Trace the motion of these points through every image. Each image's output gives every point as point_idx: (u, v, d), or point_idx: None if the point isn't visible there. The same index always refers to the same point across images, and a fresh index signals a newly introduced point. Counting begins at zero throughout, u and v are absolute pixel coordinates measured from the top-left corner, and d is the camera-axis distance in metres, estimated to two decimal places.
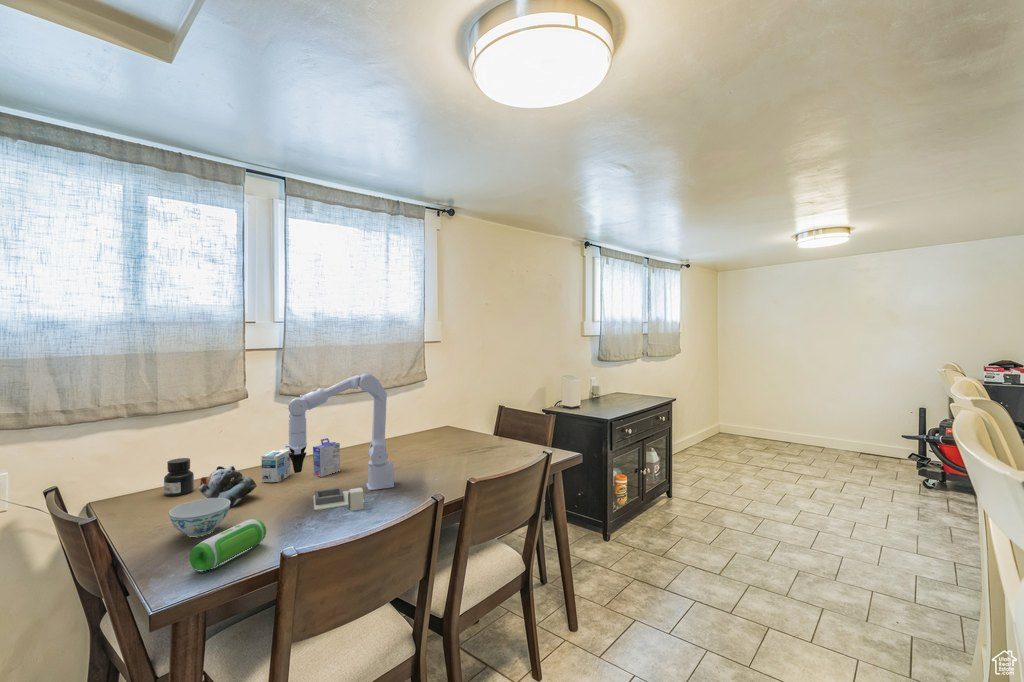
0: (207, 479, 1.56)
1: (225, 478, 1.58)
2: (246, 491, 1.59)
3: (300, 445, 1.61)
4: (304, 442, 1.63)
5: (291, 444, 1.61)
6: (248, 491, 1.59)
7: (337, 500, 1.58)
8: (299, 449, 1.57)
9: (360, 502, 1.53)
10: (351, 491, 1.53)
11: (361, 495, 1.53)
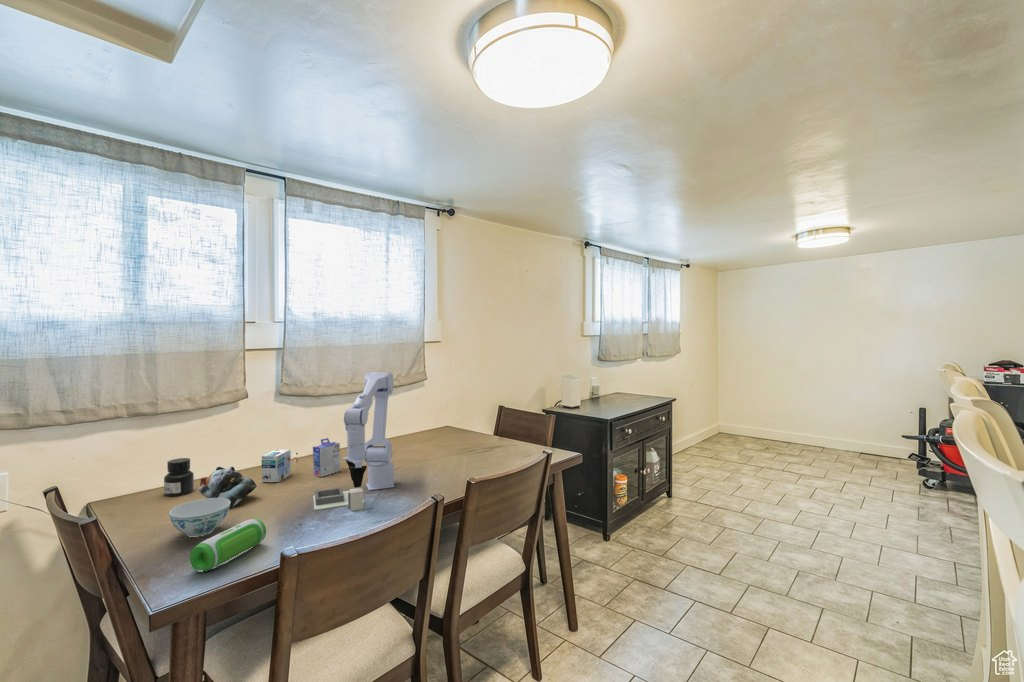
0: (207, 480, 1.55)
1: (225, 478, 1.57)
2: (247, 492, 1.58)
3: (359, 458, 1.52)
4: (363, 454, 1.53)
5: (351, 456, 1.51)
6: (248, 491, 1.59)
7: (337, 500, 1.58)
8: (360, 462, 1.48)
9: (360, 502, 1.53)
10: (351, 491, 1.53)
11: (361, 495, 1.53)
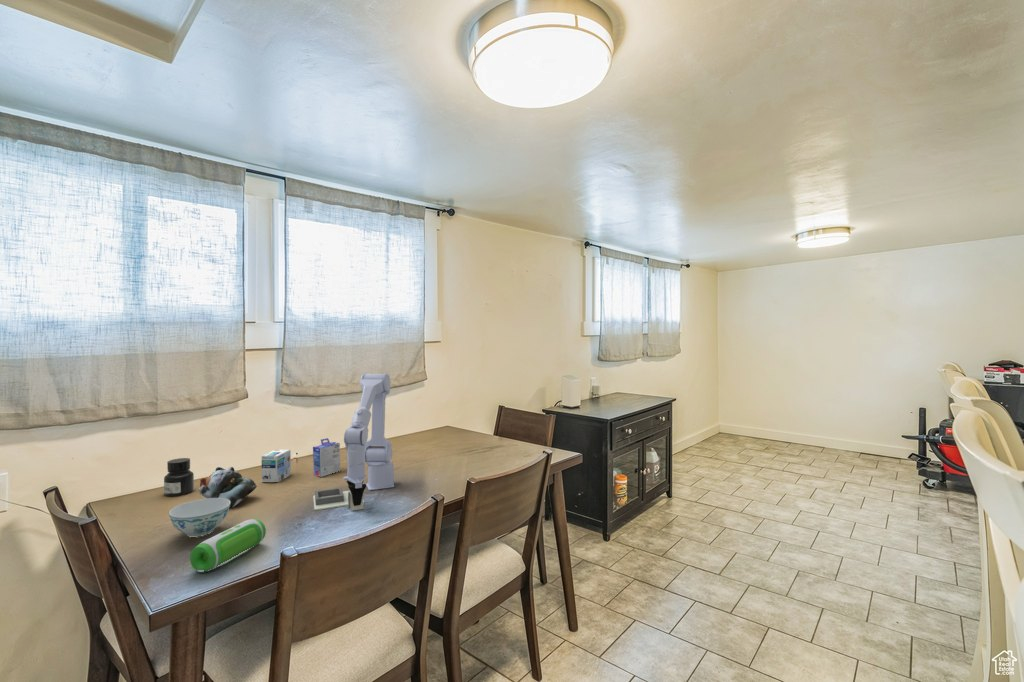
0: (207, 480, 1.55)
1: (225, 479, 1.57)
2: (247, 492, 1.58)
3: (360, 477, 1.52)
4: (363, 474, 1.53)
5: (351, 476, 1.51)
6: (248, 492, 1.59)
7: (337, 500, 1.58)
8: (360, 483, 1.48)
9: None
10: None
11: None
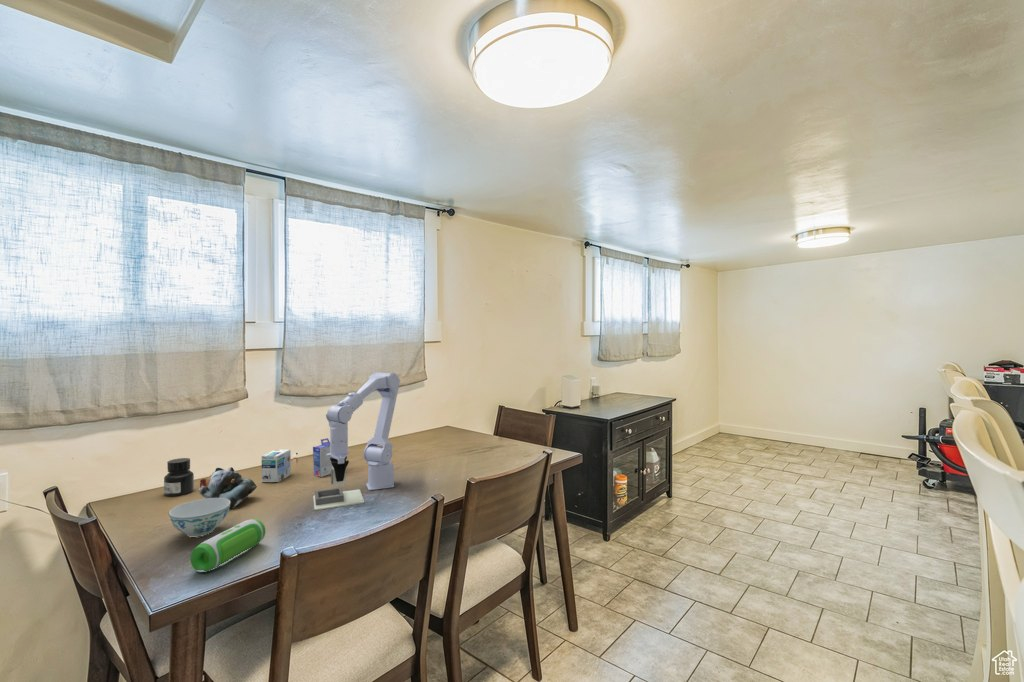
0: (207, 481, 1.54)
1: (225, 479, 1.56)
2: (247, 492, 1.58)
3: (342, 454, 1.56)
4: (346, 451, 1.57)
5: (334, 453, 1.55)
6: (248, 492, 1.58)
7: (337, 500, 1.58)
8: (343, 458, 1.52)
9: None
10: None
11: None
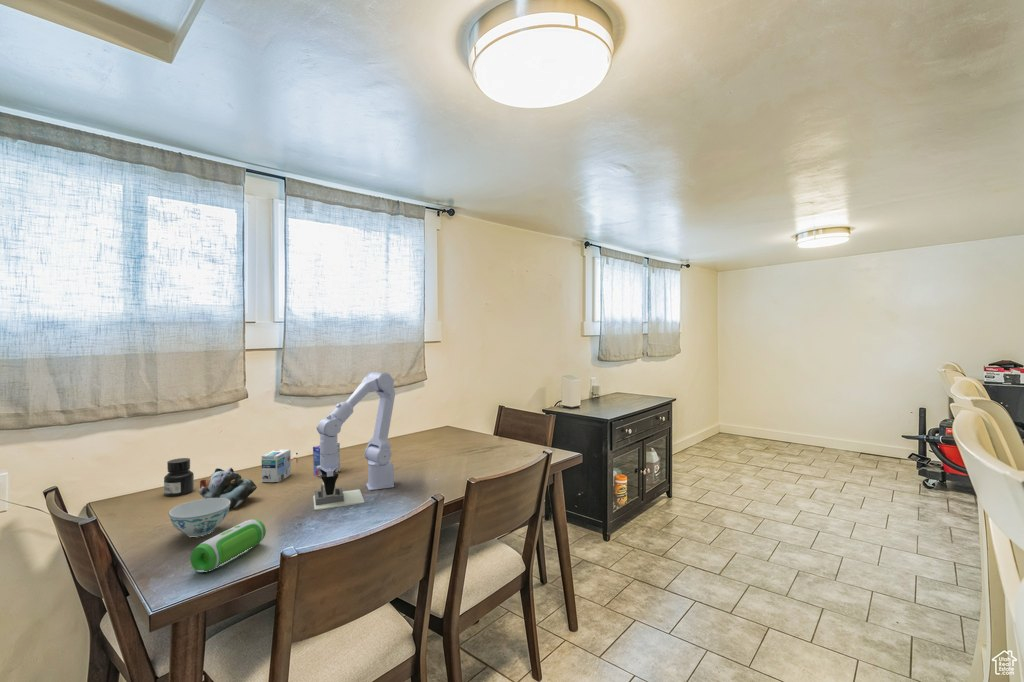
0: (207, 481, 1.53)
1: (225, 480, 1.55)
2: (247, 493, 1.57)
3: (332, 467, 1.58)
4: (335, 463, 1.60)
5: (323, 465, 1.58)
6: (249, 493, 1.58)
7: (337, 500, 1.58)
8: (332, 471, 1.54)
9: None
10: None
11: None
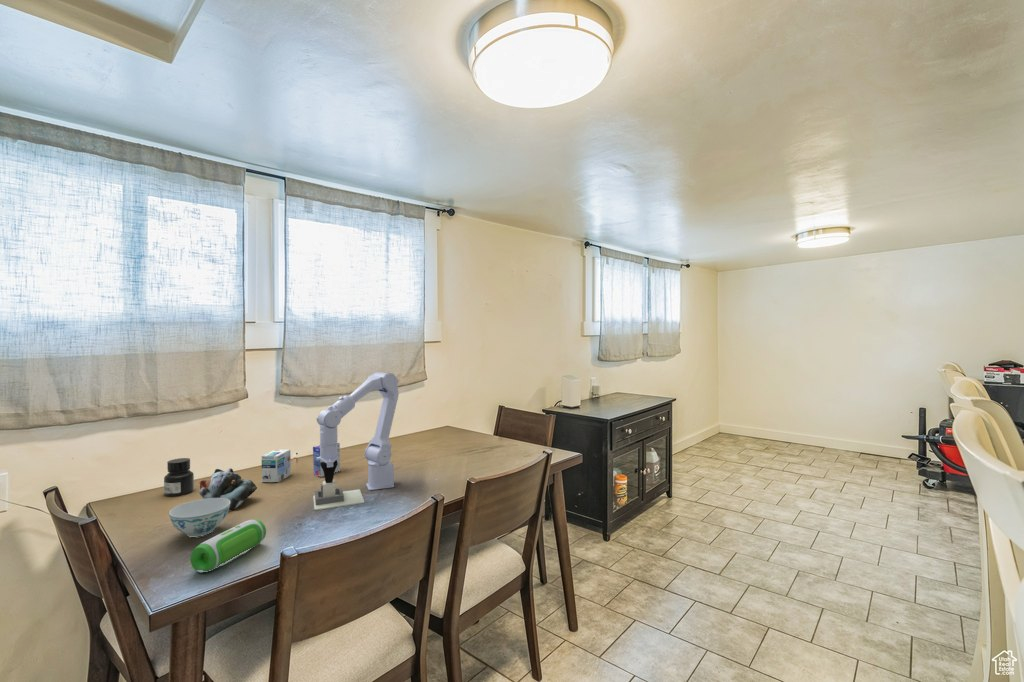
0: (207, 482, 1.53)
1: (225, 480, 1.55)
2: (248, 493, 1.57)
3: (332, 458, 1.58)
4: (335, 454, 1.60)
5: (323, 456, 1.58)
6: (249, 493, 1.57)
7: (337, 500, 1.58)
8: (331, 462, 1.54)
9: (332, 493, 1.59)
10: (324, 483, 1.59)
11: (333, 487, 1.59)
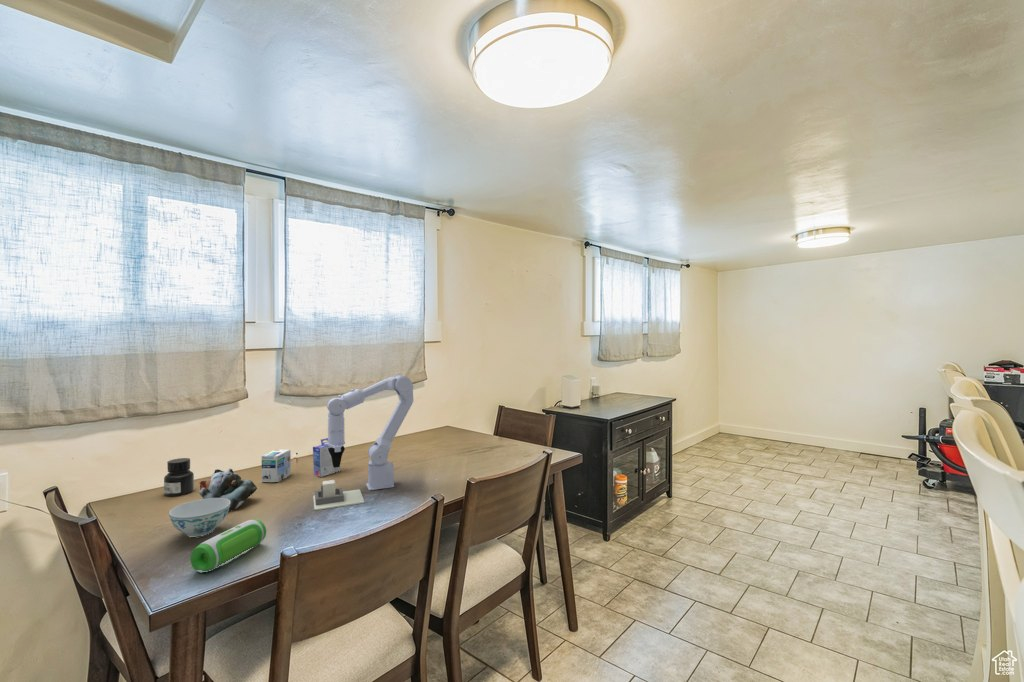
0: (207, 482, 1.52)
1: (225, 481, 1.54)
2: (248, 494, 1.56)
3: (339, 443, 1.67)
4: (343, 440, 1.68)
5: (331, 442, 1.66)
6: (249, 493, 1.57)
7: (337, 500, 1.58)
8: (339, 447, 1.63)
9: (332, 493, 1.59)
10: (324, 483, 1.59)
11: (333, 487, 1.59)
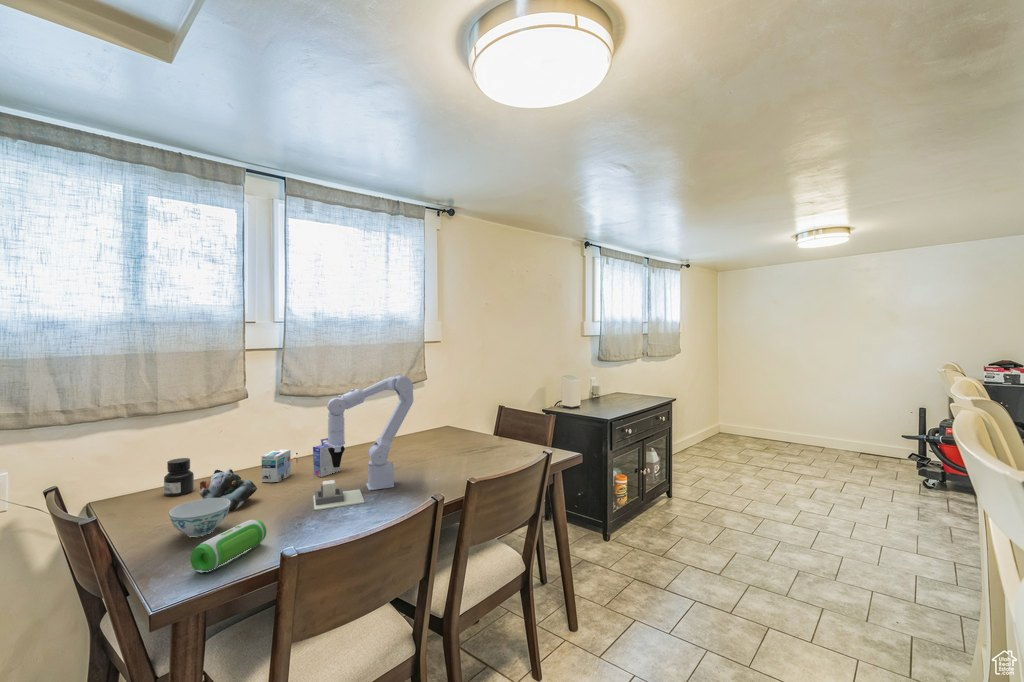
0: (207, 483, 1.52)
1: (225, 481, 1.54)
2: (248, 494, 1.56)
3: (339, 443, 1.67)
4: (343, 440, 1.68)
5: (331, 442, 1.66)
6: (250, 494, 1.57)
7: (337, 500, 1.58)
8: (339, 447, 1.63)
9: (332, 493, 1.59)
10: (324, 483, 1.59)
11: (333, 487, 1.59)
